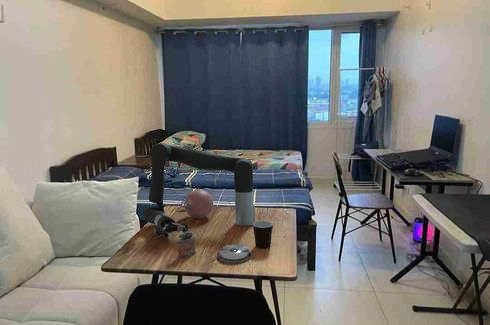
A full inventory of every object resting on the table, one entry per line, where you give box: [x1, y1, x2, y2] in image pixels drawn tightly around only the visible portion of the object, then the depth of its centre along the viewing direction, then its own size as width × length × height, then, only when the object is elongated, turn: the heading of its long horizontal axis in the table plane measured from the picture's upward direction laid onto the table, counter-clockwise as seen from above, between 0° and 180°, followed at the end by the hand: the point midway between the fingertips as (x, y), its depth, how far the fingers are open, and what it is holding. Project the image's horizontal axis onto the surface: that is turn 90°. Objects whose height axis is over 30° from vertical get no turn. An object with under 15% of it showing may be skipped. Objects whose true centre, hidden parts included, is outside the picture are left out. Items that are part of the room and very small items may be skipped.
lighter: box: [176, 230, 197, 260], centre depth 154 cm, size 8×3×10 cm, turn 134°
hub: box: [216, 244, 252, 265], centre depth 153 cm, size 14×14×3 cm
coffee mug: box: [252, 220, 274, 250], centre depth 164 cm, size 12×9×10 cm
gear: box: [181, 195, 187, 205], centre depth 220 cm, size 11×6×10 cm
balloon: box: [182, 189, 214, 220], centre depth 199 cm, size 15×20×15 cm
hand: (177, 233), depth 163 cm, fingers open, 8 cm apart
